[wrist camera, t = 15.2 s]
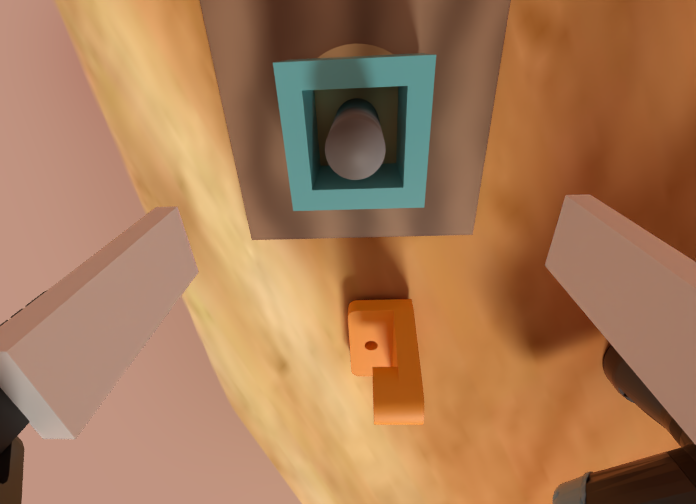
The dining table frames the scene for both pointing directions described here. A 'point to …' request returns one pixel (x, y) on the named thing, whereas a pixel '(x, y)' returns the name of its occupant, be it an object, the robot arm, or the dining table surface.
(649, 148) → the dining table surface
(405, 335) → the bracket
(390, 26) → the post base
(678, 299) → the robot arm
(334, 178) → the collar
